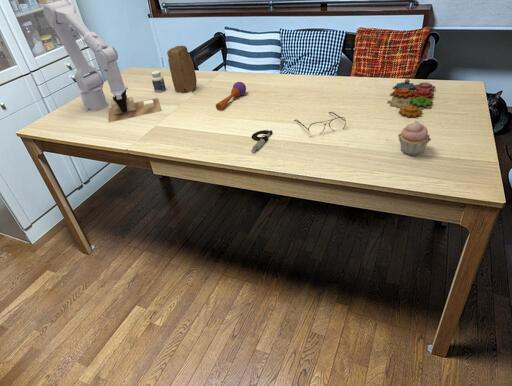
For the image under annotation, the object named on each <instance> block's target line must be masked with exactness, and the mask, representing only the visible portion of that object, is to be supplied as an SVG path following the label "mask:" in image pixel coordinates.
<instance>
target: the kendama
mask: <svg viewBox="0 0 512 386" xmlns="http://www.w3.org/2000/svg"><path fill="white" fill-rule="evenodd" d="M246 91H247V87H246V84H245V83H244V82H242V81H237V82H234V83H233V85H232V88H231V92H230V95H228V96H227V97H225V98H224V99H222V100H220V101H219V102H217V103H216V104H215V109H216V110H217V111H223V110H224V108H225V107H226V106H227V104H228V103H229V102H230V101H231V100H232V99H233V98H236V97H237V98H239V97H241V96H243V95H244V94H246Z"/></svg>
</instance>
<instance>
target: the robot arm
mask: <svg viewBox="0 0 512 386" xmlns="http://www.w3.org/2000/svg"><path fill="white" fill-rule="evenodd" d="M42 8H43V12H42V13H43V16H44V17H45V19H46V21H47V22H48V24H49V26H50V28H52V29H53V30H54V32H55V34H56V35H57V37H58V39H59V41H60V42H61V44H62V46H63V48H64V49H65V51H66V53H67V55H68V56H69V58H70V60H71V61H72V64H73V65H74V67H75V69H76V72H75V74H74V79H75V81H76V84H77V87H78V89H79V90H81V92H80V97H81V101H82V103H83V106H84V108H85V111H86V112H87V113H90V112H93V111H101V110H104V109H106V108H108V106H109V105H108V101H107V99H106V95H105V93H104V90H103V88H104V84H105V83H104V82H105V81H104V77H103V76H102V74H101V73H100V72H99V71H98V68H96V67H94V66H92V65H90V64H89V63H88V61H87V58H86V57H85V55H84V53H83V52H82V50H81V48H80V46H79V44H78V43H77V41H76V39H75V37H74V35H73V33H72V31H71V30H70V28H69V26H70V27H71V28H72V29H73V30H75V31H76V32H77V33H78V34H79V35H80V36H82V38H83V43H84V44H85V45H86V46H87V47H88V48H89V49H90V50H91V51H92V52H93V53H94V55H95V56H96V61H97V62H98V64H100V67H101V68H102V70H103V72H104V74H105V77H106V80H107V84H108V86H109V89H110V93H111V94H113V96H112V101H113V100H114V101H115V102H116V103H117V104H118V106H119V107H120V109H121V111H122V112H127V104H126V99H127V97H128V95H127V90H129V86H125V83H124V81H123V77H122V74H121V71H120V67H119V65H118V62H117V60H118V59H119V56H118V55H119V54H118V52H117V50H116V48H115V47H114V46H112V45H110V44H108V43H106V42H105V41H104V40H103V39H102V38H101V37H100V36H99V35H98V34H97V33H96V32H95V31H91V30H89V28H88V27H87V26H86V24H85V23H84V22H83V20H82V19H80V17H79V16H78V14H77V12H76V8H75V6H74V5H73V4H72V3H71V1H69V0H58V1H55V2H50V3H49V2H48V3H45V4H43V7H42Z"/></svg>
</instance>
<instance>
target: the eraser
mask: <svg viewBox="0 0 512 386" xmlns="http://www.w3.org/2000/svg"><path fill="white" fill-rule="evenodd" d="M151 99H152V100H150V99H146V100H147V101H145V100H143V101H144V106H145V109H147V108H152V107H155V106H154V102H153V99H154V98H151Z"/></svg>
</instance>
